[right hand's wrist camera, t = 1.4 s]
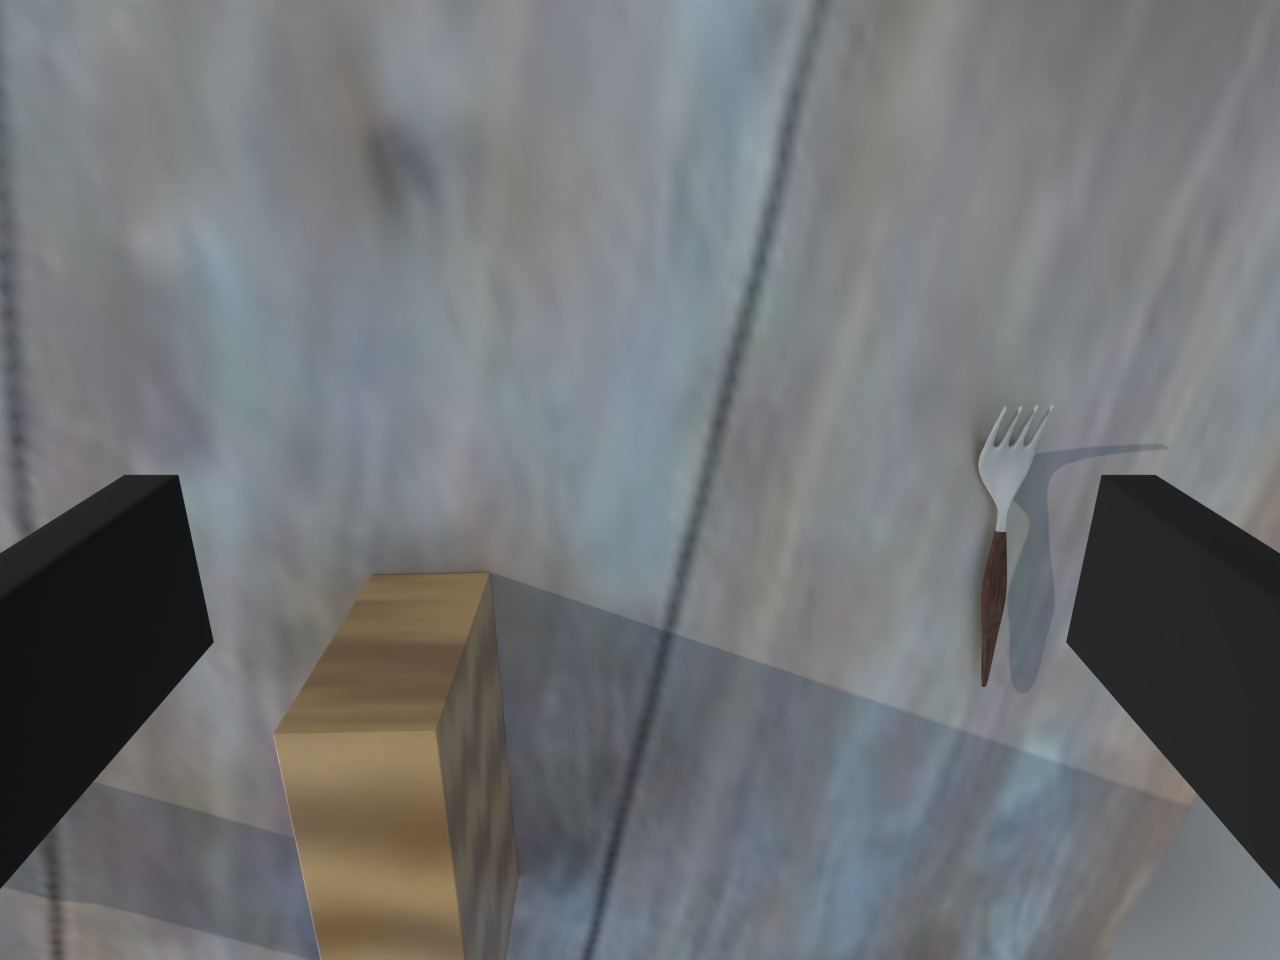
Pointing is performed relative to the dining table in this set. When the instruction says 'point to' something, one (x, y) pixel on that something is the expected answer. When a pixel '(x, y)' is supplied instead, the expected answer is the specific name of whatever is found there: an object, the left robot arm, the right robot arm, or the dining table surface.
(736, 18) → the dining table surface
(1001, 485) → the fork
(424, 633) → the box
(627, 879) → the dining table surface
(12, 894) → the dining table surface
